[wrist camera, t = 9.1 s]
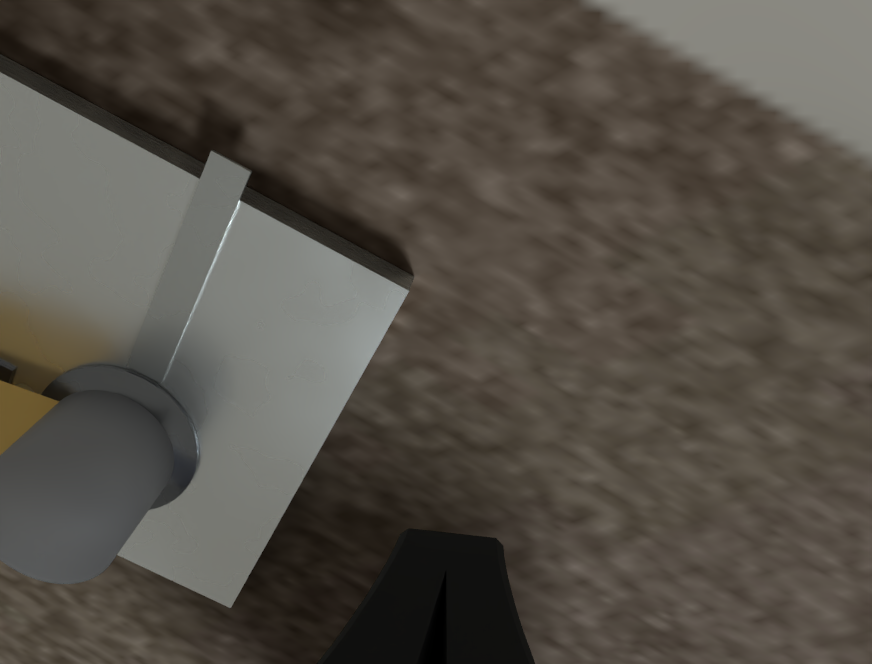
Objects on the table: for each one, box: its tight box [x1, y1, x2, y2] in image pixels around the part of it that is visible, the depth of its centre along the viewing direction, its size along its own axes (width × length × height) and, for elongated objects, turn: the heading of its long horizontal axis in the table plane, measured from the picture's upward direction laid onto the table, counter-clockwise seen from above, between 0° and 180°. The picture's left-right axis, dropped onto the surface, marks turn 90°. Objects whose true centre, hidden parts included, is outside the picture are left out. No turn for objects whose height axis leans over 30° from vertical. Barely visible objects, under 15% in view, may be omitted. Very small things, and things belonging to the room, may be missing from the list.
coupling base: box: [0, 54, 414, 608], centre depth 21 cm, size 13×16×1 cm
